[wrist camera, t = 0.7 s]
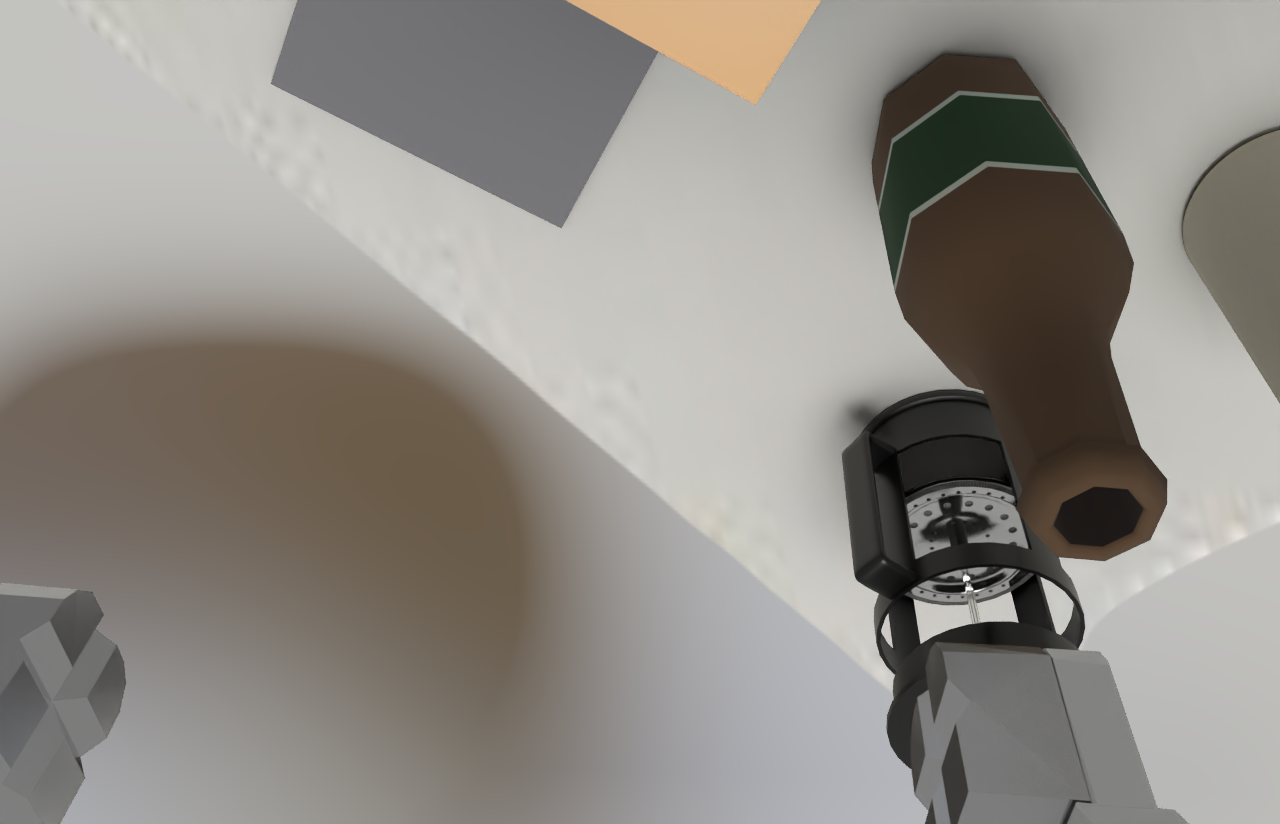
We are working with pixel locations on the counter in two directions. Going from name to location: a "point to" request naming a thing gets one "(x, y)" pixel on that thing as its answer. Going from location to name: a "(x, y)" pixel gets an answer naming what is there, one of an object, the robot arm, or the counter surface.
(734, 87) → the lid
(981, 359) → the beer bottle
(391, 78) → the mat
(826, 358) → the counter surface
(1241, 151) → the travel mug
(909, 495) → the french press
